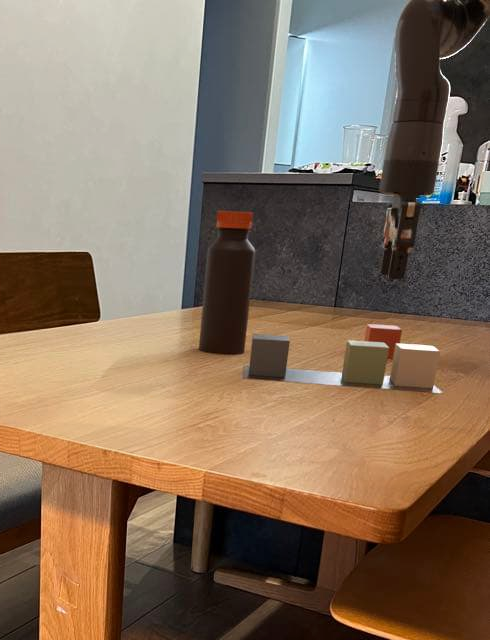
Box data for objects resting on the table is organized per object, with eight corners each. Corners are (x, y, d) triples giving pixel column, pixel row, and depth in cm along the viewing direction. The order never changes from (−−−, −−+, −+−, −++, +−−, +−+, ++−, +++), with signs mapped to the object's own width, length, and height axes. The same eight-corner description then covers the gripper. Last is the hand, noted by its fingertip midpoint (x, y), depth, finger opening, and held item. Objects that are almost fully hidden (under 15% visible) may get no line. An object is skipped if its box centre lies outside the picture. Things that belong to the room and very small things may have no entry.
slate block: (284, 371, 113) (288, 336, 111) (285, 377, 109) (289, 340, 107) (248, 369, 114) (252, 333, 112) (248, 374, 110) (252, 338, 108)
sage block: (378, 378, 111) (384, 342, 109) (382, 384, 107) (389, 347, 105) (341, 375, 112) (347, 340, 110) (345, 382, 108) (350, 345, 106)
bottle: (207, 358, 124) (221, 211, 117) (192, 350, 130) (204, 210, 123) (251, 358, 126) (267, 213, 119) (233, 351, 132) (248, 212, 125)
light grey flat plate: (427, 383, 113) (428, 378, 113) (442, 398, 104) (443, 393, 103) (243, 369, 117) (243, 365, 116) (242, 382, 107) (242, 378, 107)
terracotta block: (392, 355, 134) (397, 325, 133) (396, 360, 130) (402, 329, 128) (362, 353, 135) (366, 323, 133) (365, 358, 131) (370, 327, 129)
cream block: (426, 382, 110) (433, 345, 109) (433, 388, 106) (440, 351, 104) (389, 379, 111) (395, 343, 109) (394, 385, 107) (401, 348, 105)
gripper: (449, 157, 115) (426, 282, 121) (429, 162, 128) (409, 275, 134) (391, 154, 116) (371, 279, 122) (377, 160, 129) (360, 272, 135)
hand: (391, 277), depth 128 cm, fingers open, 8 cm apart
